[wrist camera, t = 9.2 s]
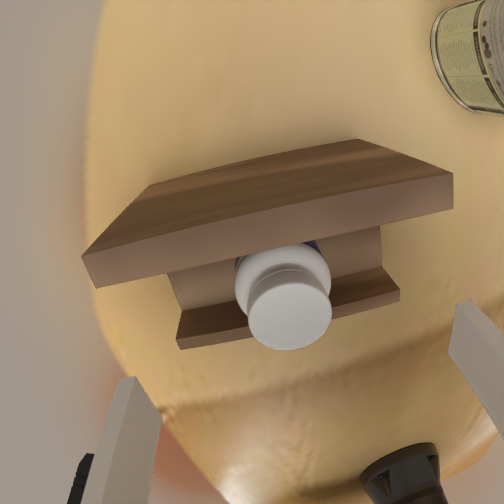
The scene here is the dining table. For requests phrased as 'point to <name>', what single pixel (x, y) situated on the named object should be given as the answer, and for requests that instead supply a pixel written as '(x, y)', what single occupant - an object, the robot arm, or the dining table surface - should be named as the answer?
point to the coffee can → (472, 54)
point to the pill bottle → (285, 295)
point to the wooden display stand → (269, 228)
